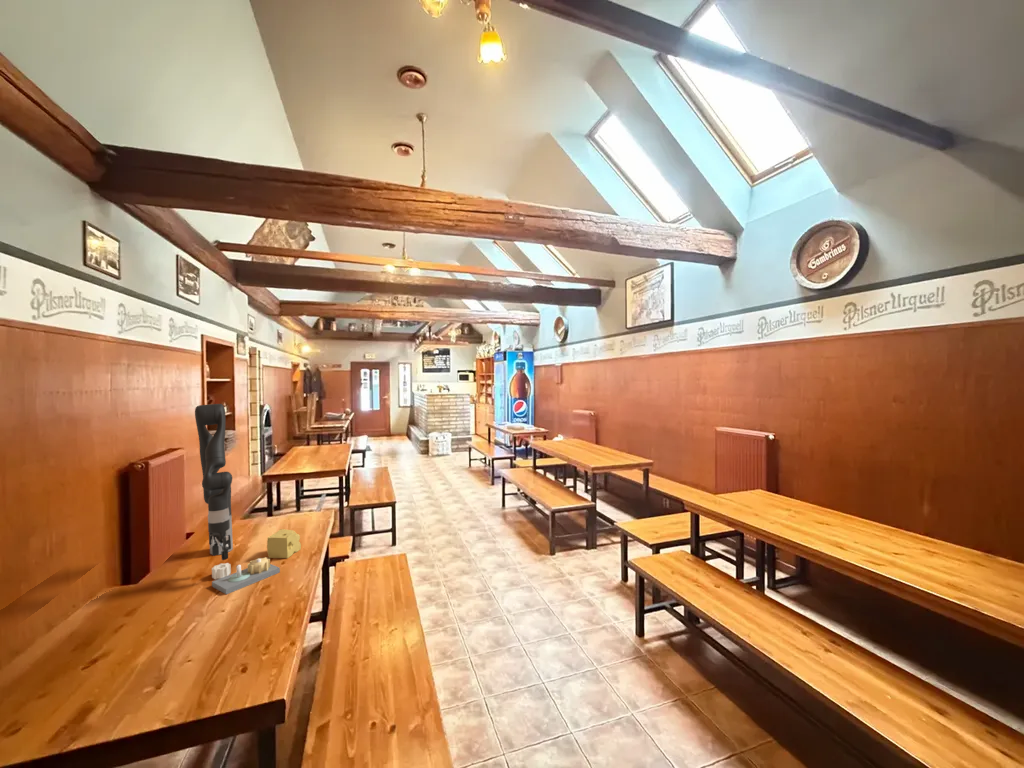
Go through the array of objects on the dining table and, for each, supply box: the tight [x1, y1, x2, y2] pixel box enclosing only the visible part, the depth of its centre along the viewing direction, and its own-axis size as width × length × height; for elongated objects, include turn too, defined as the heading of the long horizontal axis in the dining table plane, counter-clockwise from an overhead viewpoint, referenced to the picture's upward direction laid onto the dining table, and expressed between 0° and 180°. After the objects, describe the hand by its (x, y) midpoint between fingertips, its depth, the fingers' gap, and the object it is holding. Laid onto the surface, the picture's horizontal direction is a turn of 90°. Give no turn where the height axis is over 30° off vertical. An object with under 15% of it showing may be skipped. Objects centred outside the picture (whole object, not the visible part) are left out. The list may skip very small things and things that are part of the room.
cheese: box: [266, 528, 302, 559], centre depth 202 cm, size 10×11×10 cm
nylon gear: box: [211, 562, 232, 580], centre depth 181 cm, size 6×6×4 cm
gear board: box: [211, 556, 281, 595], centre depth 177 cm, size 12×21×7 cm, turn 148°
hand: (220, 557), depth 180 cm, fingers open, 8 cm apart
